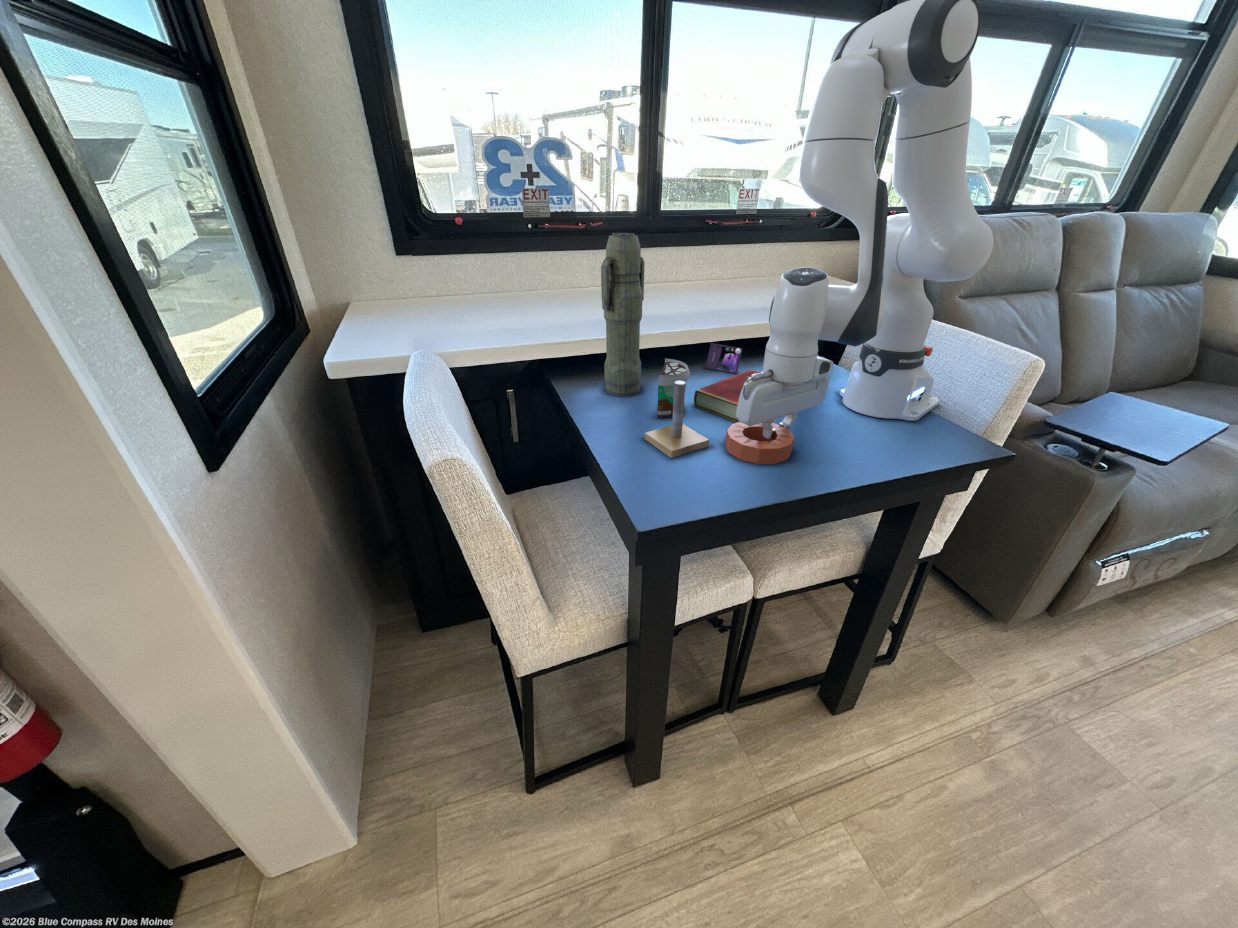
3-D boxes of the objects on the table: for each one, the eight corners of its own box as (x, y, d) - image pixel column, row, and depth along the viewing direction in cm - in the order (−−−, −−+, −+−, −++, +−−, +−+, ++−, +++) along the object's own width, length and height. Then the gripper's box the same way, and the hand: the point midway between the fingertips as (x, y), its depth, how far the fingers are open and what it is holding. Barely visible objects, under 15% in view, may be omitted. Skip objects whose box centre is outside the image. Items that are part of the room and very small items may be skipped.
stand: (680, 429, 101) (684, 371, 94) (708, 446, 94) (715, 385, 88) (644, 439, 97) (646, 379, 90) (671, 458, 90) (674, 395, 84)
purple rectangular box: (710, 342, 132) (741, 348, 128) (716, 344, 136) (747, 349, 132) (704, 367, 133) (735, 373, 129) (711, 368, 138) (741, 374, 134)
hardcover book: (693, 405, 111) (694, 388, 109) (747, 383, 123) (749, 367, 121) (736, 422, 104) (738, 403, 101) (789, 397, 116) (792, 380, 114)
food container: (685, 423, 103) (688, 378, 98) (656, 420, 104) (658, 376, 99) (689, 401, 114) (692, 359, 109) (663, 399, 115) (665, 357, 110)
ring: (757, 429, 100) (760, 415, 99) (804, 453, 91) (807, 438, 90) (713, 443, 95) (714, 428, 93) (757, 470, 86) (760, 454, 84)
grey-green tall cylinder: (651, 386, 122) (656, 233, 104) (622, 400, 114) (622, 237, 96) (623, 378, 127) (624, 230, 109) (593, 392, 119) (589, 234, 101)
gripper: (759, 381, 80) (748, 454, 87) (840, 361, 89) (824, 429, 96) (733, 370, 85) (724, 440, 92) (812, 352, 94) (799, 417, 101)
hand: (776, 434), depth 94 cm, fingers closed on ring, 3 cm apart
